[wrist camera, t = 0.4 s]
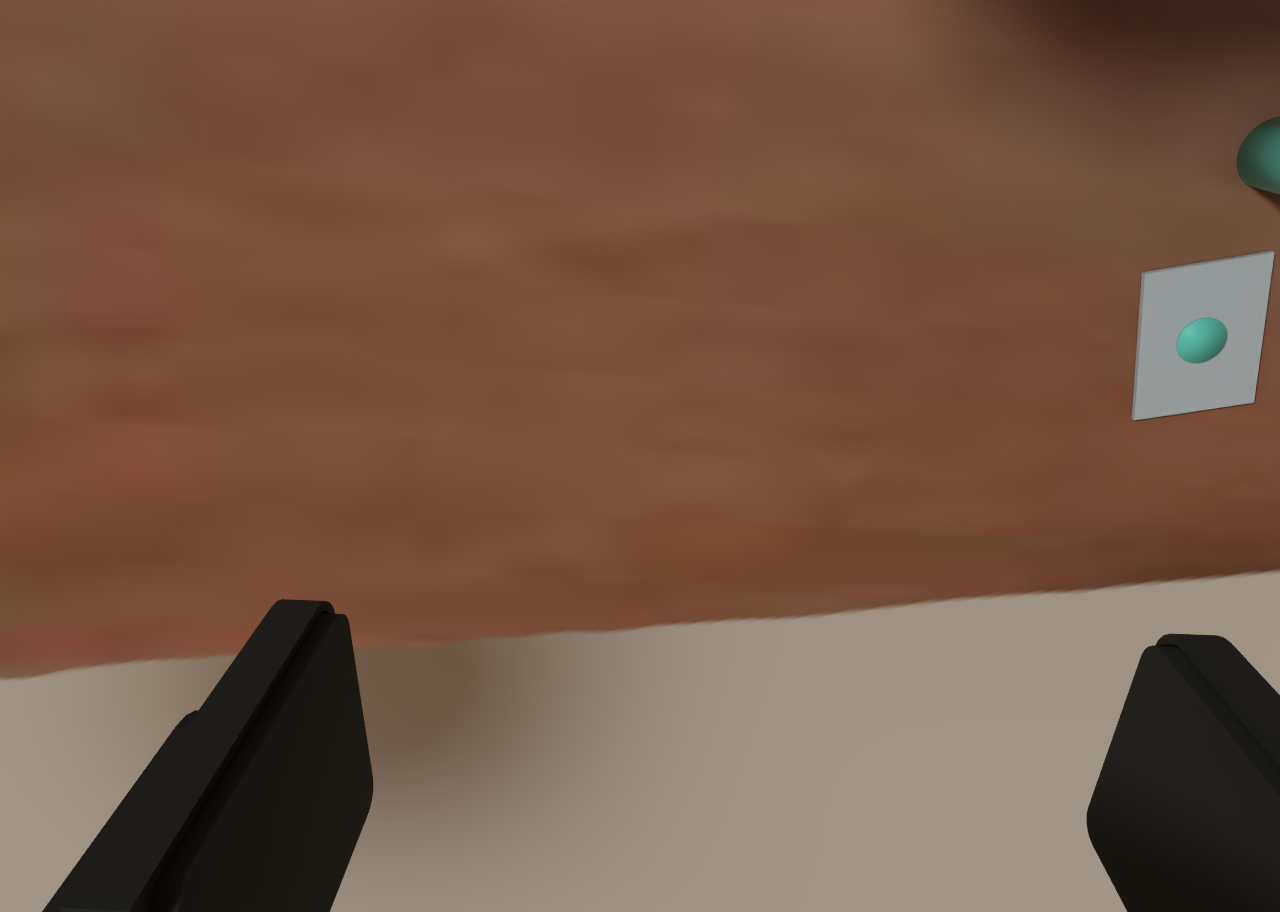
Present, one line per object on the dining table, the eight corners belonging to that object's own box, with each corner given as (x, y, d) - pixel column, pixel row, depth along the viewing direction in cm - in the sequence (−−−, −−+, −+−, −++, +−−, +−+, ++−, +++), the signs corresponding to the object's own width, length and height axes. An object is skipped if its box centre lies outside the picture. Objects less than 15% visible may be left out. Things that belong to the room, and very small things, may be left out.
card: (1141, 272, 43) (1146, 274, 42) (1270, 250, 42) (1275, 252, 42) (1131, 418, 46) (1135, 421, 46) (1250, 400, 45) (1255, 403, 45)
